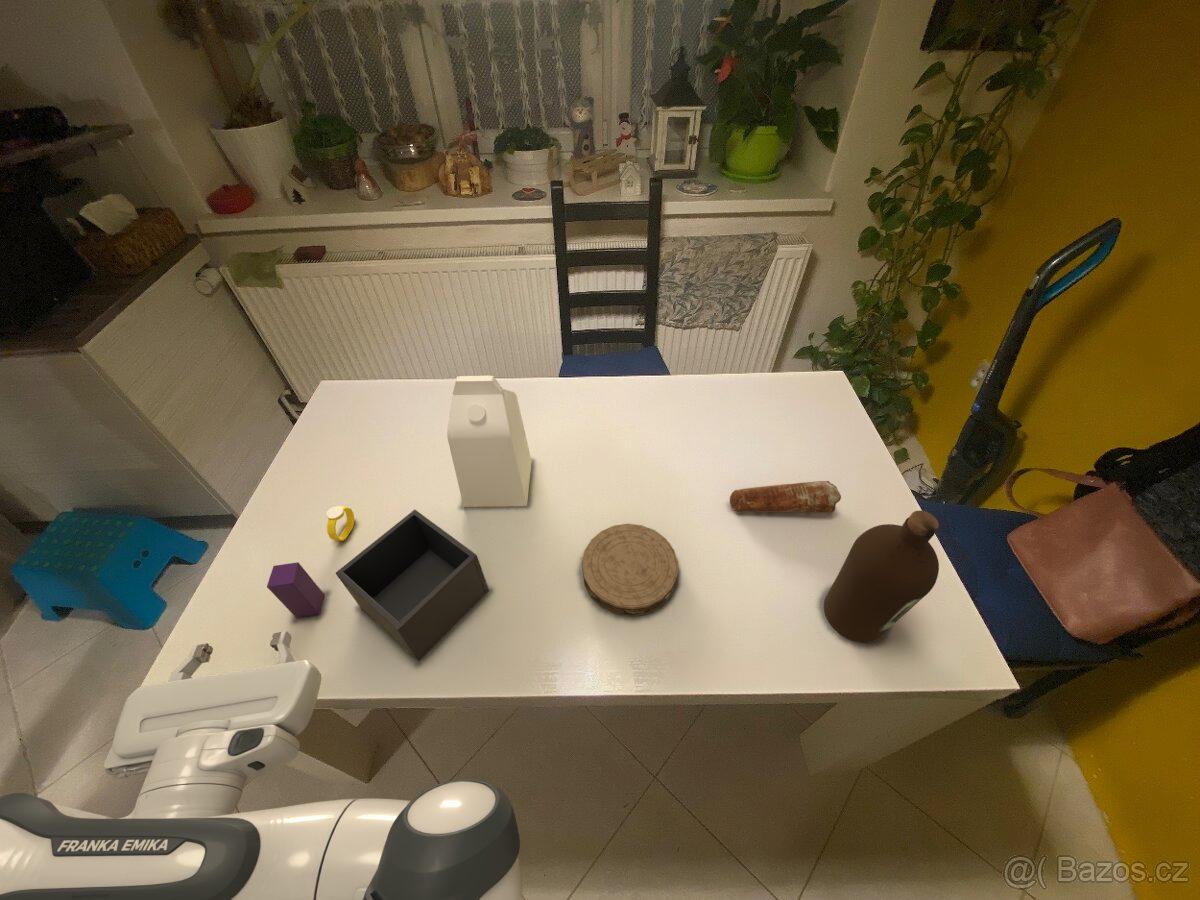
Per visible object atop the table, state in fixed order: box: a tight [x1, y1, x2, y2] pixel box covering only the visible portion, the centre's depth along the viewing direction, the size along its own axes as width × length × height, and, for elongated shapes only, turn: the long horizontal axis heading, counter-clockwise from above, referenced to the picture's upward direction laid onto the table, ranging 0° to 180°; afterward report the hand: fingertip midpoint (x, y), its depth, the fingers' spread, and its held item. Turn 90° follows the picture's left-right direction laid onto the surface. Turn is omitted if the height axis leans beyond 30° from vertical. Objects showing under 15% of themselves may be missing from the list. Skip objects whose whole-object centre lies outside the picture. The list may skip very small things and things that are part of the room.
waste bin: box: [335, 509, 490, 663], centre depth 79 cm, size 15×15×11 cm
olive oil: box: [823, 510, 940, 644], centre depth 72 cm, size 11×11×25 cm
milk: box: [446, 375, 533, 508], centre depth 91 cm, size 12×12×26 cm
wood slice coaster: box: [581, 523, 679, 618], centre depth 85 cm, size 16×16×3 cm
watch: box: [325, 505, 355, 542], centre depth 90 cm, size 6×3×6 cm, turn 173°
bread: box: [729, 480, 842, 514], centre depth 94 cm, size 6×19×6 cm, turn 88°
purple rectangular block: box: [266, 561, 325, 619], centre depth 79 cm, size 4×4×10 cm
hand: (243, 639), depth 64 cm, fingers open, 8 cm apart
